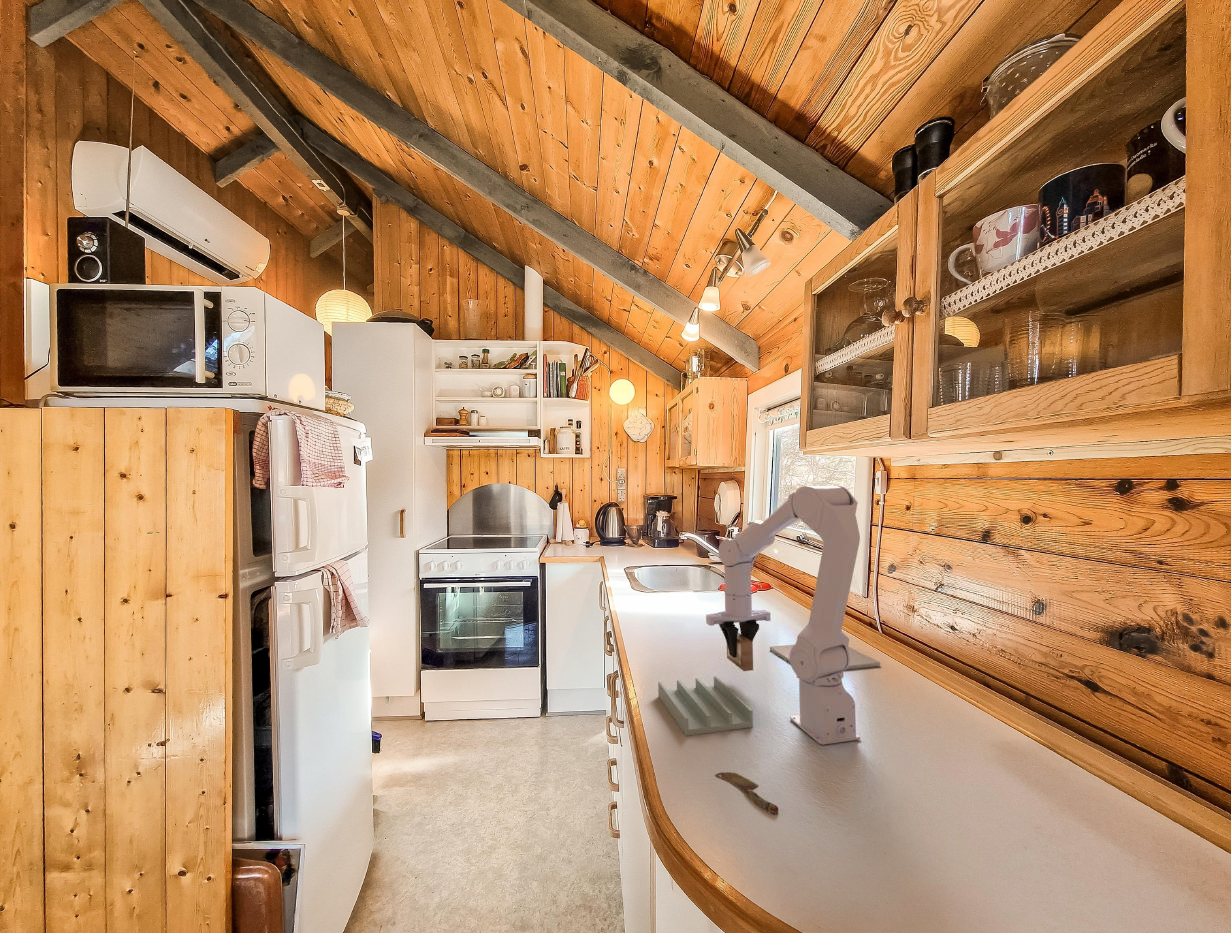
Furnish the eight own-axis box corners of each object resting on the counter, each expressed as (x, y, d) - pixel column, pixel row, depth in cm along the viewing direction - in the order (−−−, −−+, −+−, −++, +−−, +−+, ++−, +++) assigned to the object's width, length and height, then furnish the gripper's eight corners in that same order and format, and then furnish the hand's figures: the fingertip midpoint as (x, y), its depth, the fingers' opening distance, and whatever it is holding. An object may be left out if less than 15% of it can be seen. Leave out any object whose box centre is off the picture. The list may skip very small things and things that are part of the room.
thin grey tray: (769, 646, 128) (836, 640, 132) (769, 652, 128) (836, 646, 132) (806, 669, 112) (880, 662, 116) (806, 676, 112) (880, 668, 116)
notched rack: (752, 726, 88) (752, 710, 88) (685, 735, 85) (685, 718, 85) (716, 690, 104) (715, 675, 104) (658, 696, 101) (658, 681, 101)
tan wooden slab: (753, 670, 103) (752, 641, 103) (742, 671, 102) (742, 642, 102) (735, 657, 110) (735, 630, 111) (726, 658, 110) (725, 631, 110)
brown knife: (737, 768, 77) (709, 775, 75) (737, 760, 77) (709, 767, 75) (784, 813, 65) (752, 823, 64) (784, 804, 66) (752, 813, 64)
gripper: (758, 587, 112) (759, 646, 112) (700, 591, 109) (701, 651, 109) (775, 594, 105) (776, 657, 105) (713, 598, 102) (714, 663, 102)
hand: (739, 655), depth 106 cm, fingers closed on tan wooden slab, 2 cm apart
